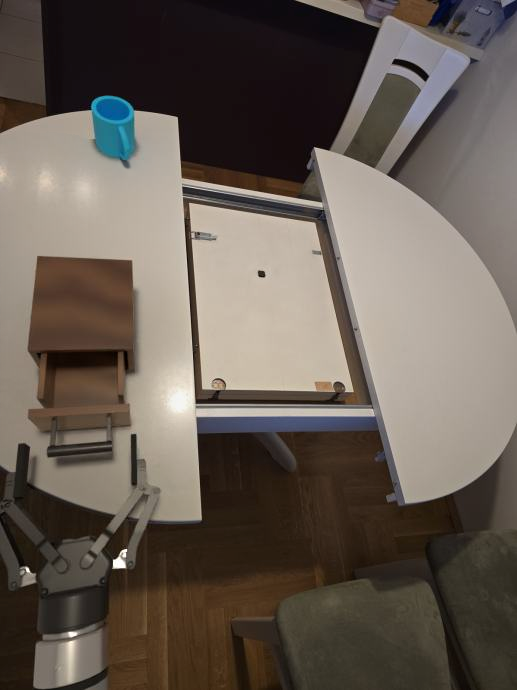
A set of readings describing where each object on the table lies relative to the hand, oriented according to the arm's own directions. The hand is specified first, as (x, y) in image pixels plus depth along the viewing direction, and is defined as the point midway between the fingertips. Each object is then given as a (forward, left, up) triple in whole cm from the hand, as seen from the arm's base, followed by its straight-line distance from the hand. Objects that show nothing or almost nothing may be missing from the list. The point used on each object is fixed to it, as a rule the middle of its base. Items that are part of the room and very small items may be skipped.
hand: (81, 440), depth 53 cm
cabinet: (+7, +19, -7) cm, 21 cm away
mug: (+26, +59, -7) cm, 65 cm away
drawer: (+3, +7, -6) cm, 10 cm away
